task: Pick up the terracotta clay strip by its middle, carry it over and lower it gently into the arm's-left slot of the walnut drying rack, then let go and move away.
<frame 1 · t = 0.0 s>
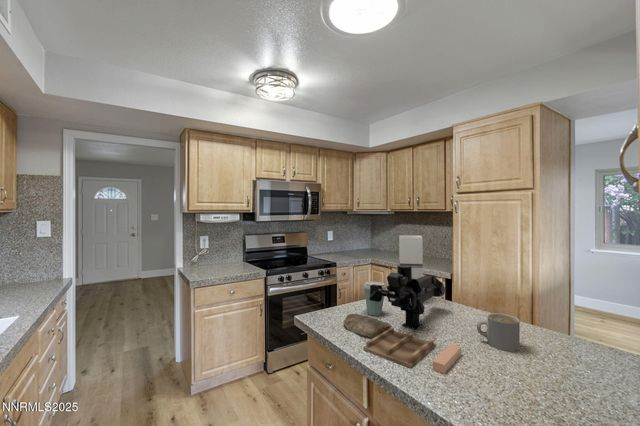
hand: (380, 301, 109), 17 cm above the countertop, tool horizontal, fingers open, 9 cm apart
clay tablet: (363, 329, 125), on the countertop
clay strip: (447, 362, 98), on the countertop
tall upright white panel: (410, 301, 161), on the countertop
coffee mug: (497, 344, 110), on the countertop
rack: (400, 348, 107), on the countertop
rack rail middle: (400, 343, 107), on the rack, point 1 cm above the countertop
disposable coffee cup: (375, 313, 142), on the countertop
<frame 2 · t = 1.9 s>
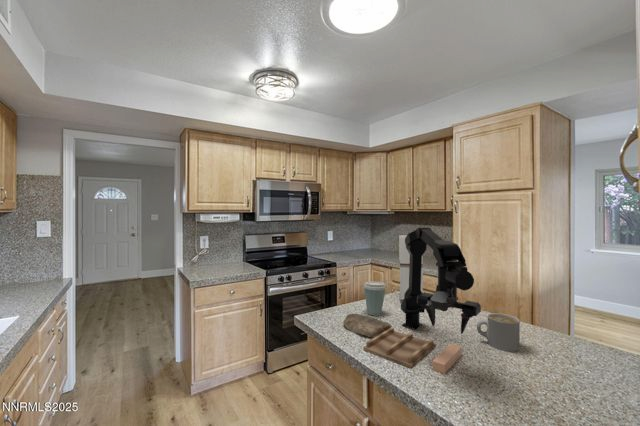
hand: (447, 329, 98), 11 cm above the countertop, tool pointing down, fingers open, 9 cm apart
nothing on the countertop moved.
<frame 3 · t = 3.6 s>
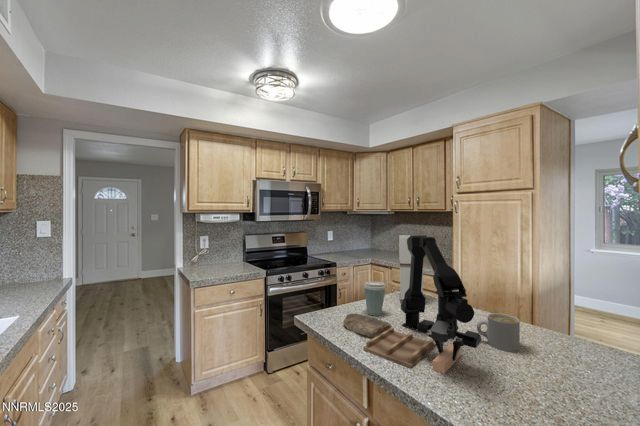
hand: (447, 358, 98), 1 cm above the countertop, tool pointing down, fingers closed on clay strip, 4 cm apart
clay strip: (447, 362, 98), on the countertop, touching gripper
everything else where it was.
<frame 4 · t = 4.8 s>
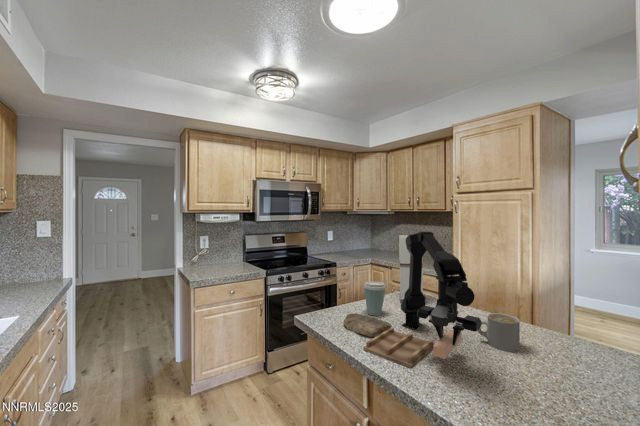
hand: (447, 343, 98), 6 cm above the countertop, tool pointing down, fingers closed on clay strip, 4 cm apart
clay strip: (447, 347, 98), point 4 cm above the countertop, touching gripper
everything else where it was.
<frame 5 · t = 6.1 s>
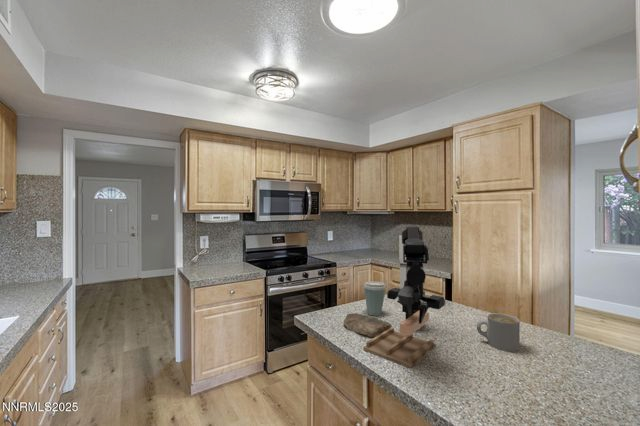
hand: (414, 322, 104), 11 cm above the countertop, tool pointing down, fingers closed on clay strip, 4 cm apart
clay strip: (415, 326, 104), point 9 cm above the countertop, touching gripper
everything else where it was.
when the fingers open (4 cm above the countertop, at t = 8.2 s): clay strip drops 1 cm, resting on rack.
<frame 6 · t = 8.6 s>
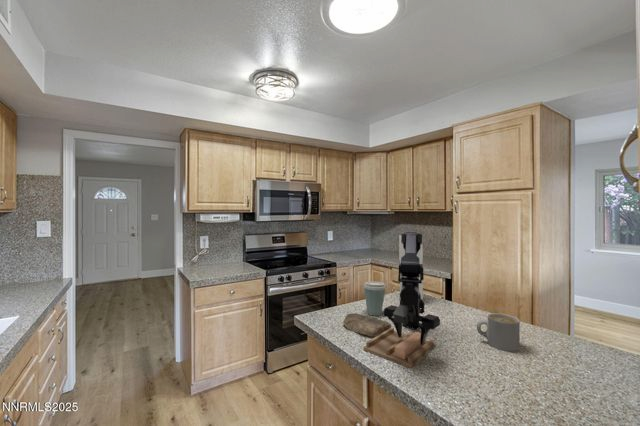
hand: (410, 340, 104), 4 cm above the countertop, tool pointing down, fingers open, 8 cm apart
clay strip: (410, 348, 105), point 1 cm above the countertop, touching rack
everything else where it was.
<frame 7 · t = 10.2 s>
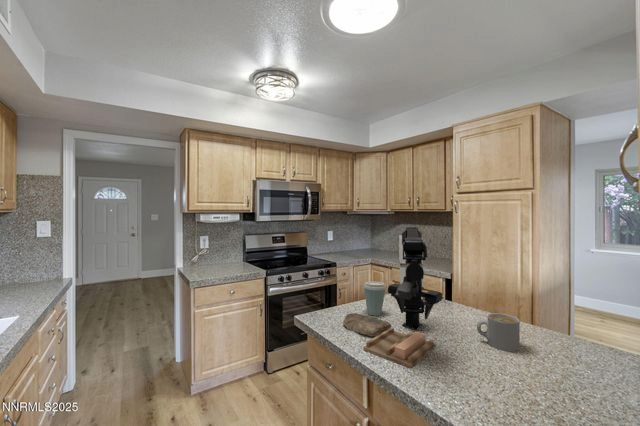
hand: (413, 315, 109), 11 cm above the countertop, tool pointing down, fingers open, 9 cm apart
nothing on the countertop moved.
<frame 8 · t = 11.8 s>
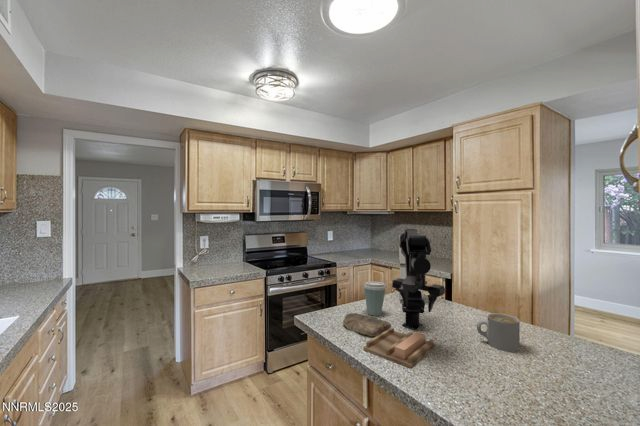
hand: (417, 309, 113), 12 cm above the countertop, tool pointing down, fingers open, 9 cm apart
nothing on the countertop moved.
at the end: clay strip 0.1 cm from the target spot on the rack, point 1.0 cm above the rack's base; clay strip tilted 0°; the gripper is holding nothing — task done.
